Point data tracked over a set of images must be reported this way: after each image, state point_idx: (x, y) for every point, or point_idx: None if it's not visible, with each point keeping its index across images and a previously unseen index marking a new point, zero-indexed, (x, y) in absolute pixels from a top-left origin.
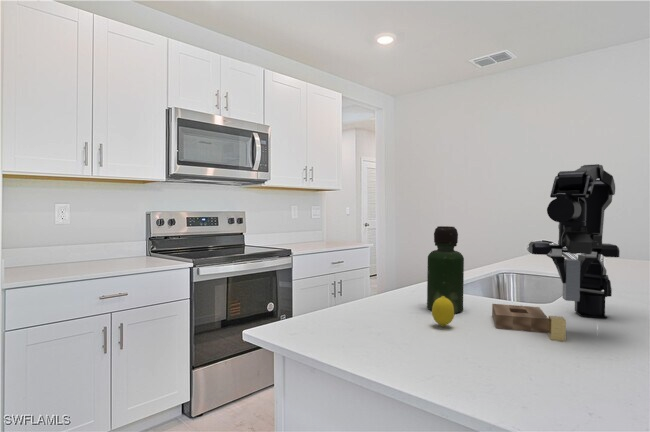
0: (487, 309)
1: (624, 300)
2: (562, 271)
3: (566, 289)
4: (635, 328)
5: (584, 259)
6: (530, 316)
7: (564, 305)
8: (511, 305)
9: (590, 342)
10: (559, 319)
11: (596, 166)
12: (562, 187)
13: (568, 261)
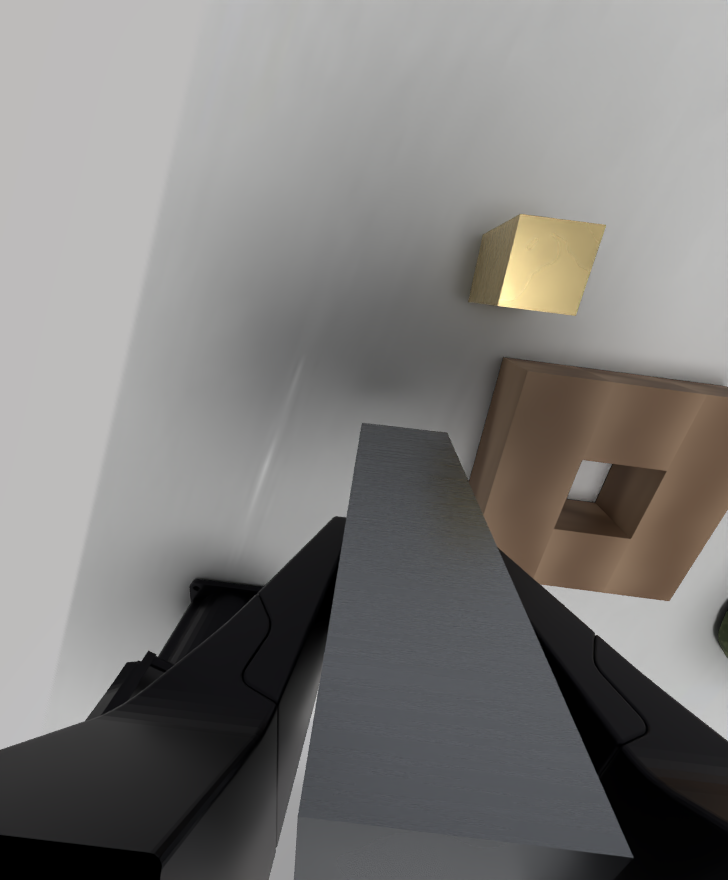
0: (599, 634)
1: None
2: (555, 621)
3: (458, 470)
4: (127, 484)
5: (190, 845)
6: (605, 404)
7: None
8: (587, 584)
9: (369, 244)
10: (556, 223)
11: None
12: None
13: (568, 813)
